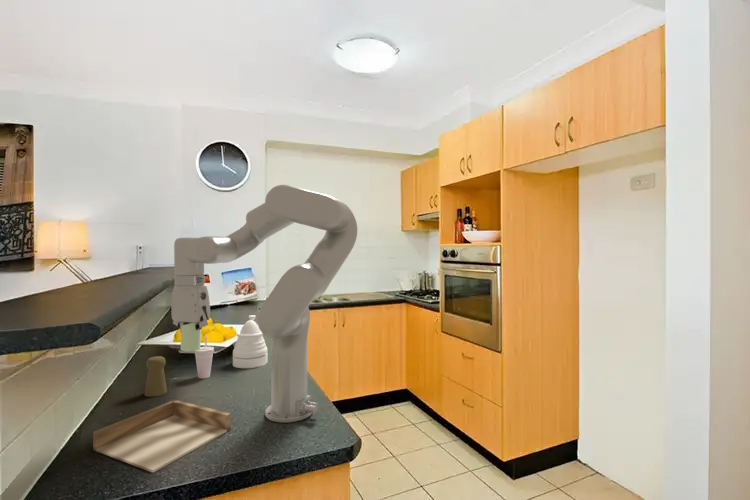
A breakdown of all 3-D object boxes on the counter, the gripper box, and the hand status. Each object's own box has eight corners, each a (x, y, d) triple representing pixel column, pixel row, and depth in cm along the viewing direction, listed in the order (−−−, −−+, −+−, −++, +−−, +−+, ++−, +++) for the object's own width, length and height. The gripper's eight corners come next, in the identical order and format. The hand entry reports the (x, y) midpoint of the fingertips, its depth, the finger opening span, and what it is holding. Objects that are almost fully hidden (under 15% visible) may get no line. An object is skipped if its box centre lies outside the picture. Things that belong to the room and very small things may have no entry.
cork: (157, 397, 114) (157, 360, 114) (139, 395, 116) (139, 359, 116) (171, 390, 120) (171, 355, 120) (154, 388, 122) (154, 353, 122)
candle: (176, 351, 106) (178, 321, 105) (186, 345, 111) (187, 317, 110) (194, 352, 105) (196, 322, 105) (203, 347, 110) (204, 318, 110)
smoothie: (214, 378, 131) (214, 337, 131) (193, 380, 129) (193, 339, 129) (214, 372, 137) (214, 333, 137) (194, 374, 135) (194, 335, 135)
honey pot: (240, 358, 156) (240, 313, 156) (271, 358, 155) (271, 314, 155) (226, 368, 143) (227, 319, 143) (261, 368, 142) (261, 319, 142)
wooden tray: (230, 429, 94) (230, 413, 94) (153, 472, 76) (153, 452, 76) (174, 414, 103) (174, 399, 103) (93, 450, 85) (93, 431, 85)
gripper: (221, 281, 109) (222, 345, 109) (179, 280, 114) (180, 342, 114) (201, 283, 102) (202, 352, 102) (157, 282, 107) (158, 348, 107)
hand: (190, 346), depth 108 cm, fingers closed on candle, 1 cm apart
